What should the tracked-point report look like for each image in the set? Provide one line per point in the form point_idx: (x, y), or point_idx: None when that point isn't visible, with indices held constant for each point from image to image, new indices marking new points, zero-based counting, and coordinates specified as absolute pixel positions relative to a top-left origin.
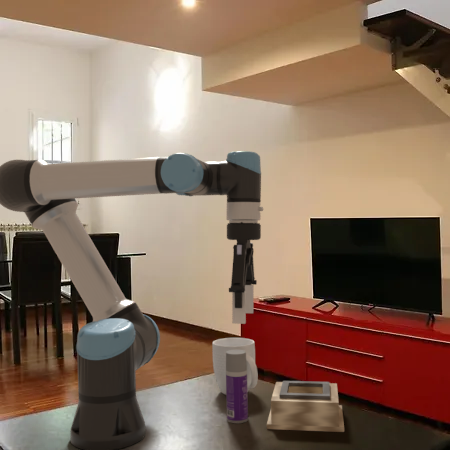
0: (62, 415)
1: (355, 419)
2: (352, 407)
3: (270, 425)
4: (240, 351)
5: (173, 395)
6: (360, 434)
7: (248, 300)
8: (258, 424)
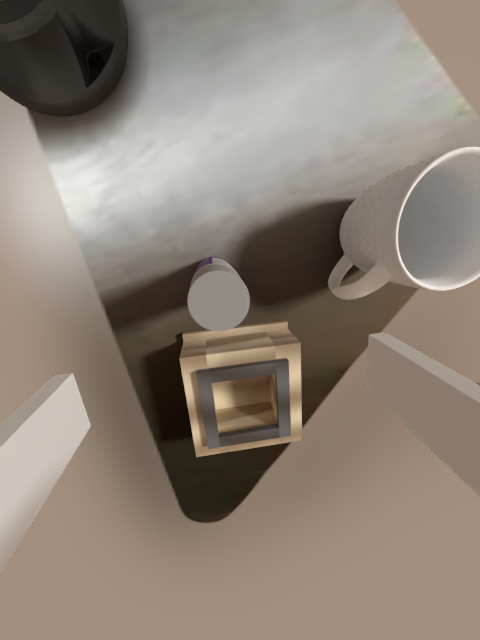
0: None
1: None
2: None
3: (183, 339)
4: (227, 313)
5: (337, 88)
6: None
7: (414, 405)
8: None
